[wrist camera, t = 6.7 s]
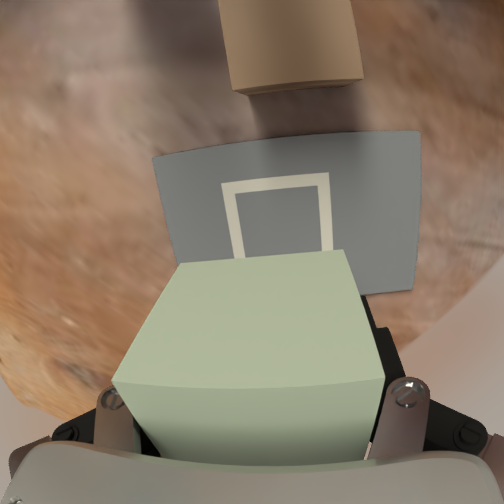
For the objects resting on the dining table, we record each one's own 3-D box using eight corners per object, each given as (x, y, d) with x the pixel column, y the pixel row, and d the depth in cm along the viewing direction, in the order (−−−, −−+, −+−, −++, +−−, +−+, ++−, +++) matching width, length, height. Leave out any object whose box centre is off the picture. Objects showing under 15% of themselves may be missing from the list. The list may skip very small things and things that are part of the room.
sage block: (343, 249, 11) (385, 377, 5) (340, 367, 13) (354, 484, 8) (180, 263, 12) (111, 380, 6) (213, 373, 14) (184, 483, 9)
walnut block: (327, 3, 15) (341, -32, 9) (341, 86, 17) (364, 78, 12) (234, 12, 16) (214, -20, 10) (247, 95, 18) (232, 90, 13)
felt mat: (417, 130, 18) (420, 131, 17) (411, 286, 23) (413, 289, 22) (154, 157, 20) (151, 158, 20) (190, 303, 25) (188, 306, 25)
